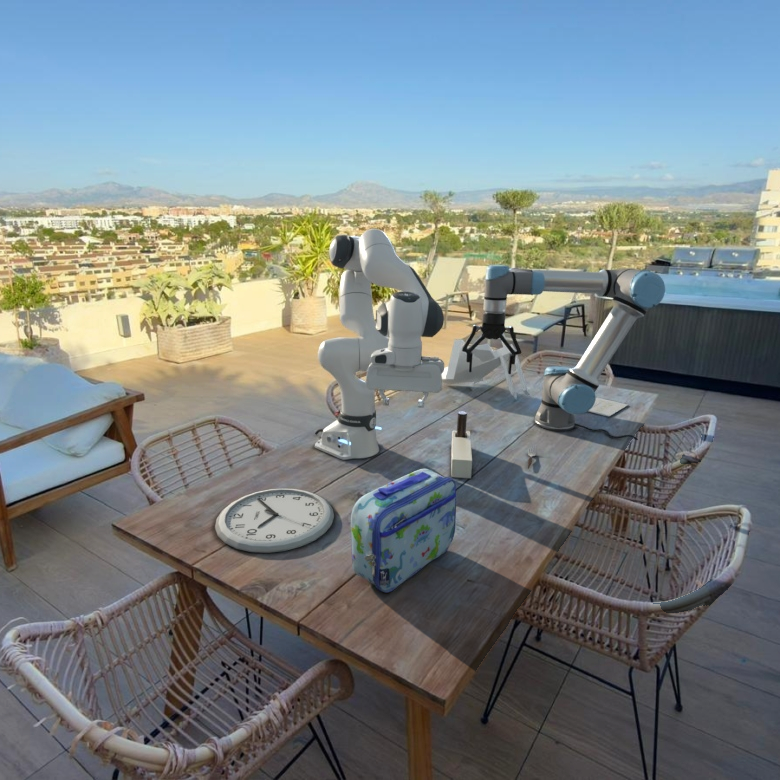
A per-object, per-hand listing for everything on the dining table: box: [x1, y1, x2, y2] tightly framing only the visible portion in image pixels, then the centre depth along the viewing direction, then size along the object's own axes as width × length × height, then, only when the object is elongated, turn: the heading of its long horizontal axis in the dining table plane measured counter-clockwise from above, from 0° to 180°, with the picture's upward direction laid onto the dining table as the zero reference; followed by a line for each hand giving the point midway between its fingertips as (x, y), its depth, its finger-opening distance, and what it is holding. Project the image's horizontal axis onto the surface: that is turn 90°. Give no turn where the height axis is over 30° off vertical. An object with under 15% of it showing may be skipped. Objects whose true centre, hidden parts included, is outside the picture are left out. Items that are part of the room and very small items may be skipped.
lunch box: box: [350, 468, 457, 593], centre depth 114 cm, size 26×11×21 cm, turn 134°
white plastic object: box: [442, 332, 531, 400], centre depth 245 cm, size 37×45×31 cm
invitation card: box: [587, 396, 629, 418], centre depth 226 cm, size 21×1×15 cm
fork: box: [527, 445, 537, 469], centre depth 172 cm, size 3×16×2 cm, turn 160°
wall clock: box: [214, 488, 335, 554], centre depth 135 cm, size 30×2×30 cm
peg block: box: [450, 429, 473, 479], centre depth 170 cm, size 6×24×6 cm, turn 173°
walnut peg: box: [456, 410, 468, 438], centre depth 177 cm, size 3×3×14 cm
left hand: (403, 405), depth 140 cm, fingers open, 8 cm apart
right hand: (489, 372), depth 184 cm, fingers open, 13 cm apart
